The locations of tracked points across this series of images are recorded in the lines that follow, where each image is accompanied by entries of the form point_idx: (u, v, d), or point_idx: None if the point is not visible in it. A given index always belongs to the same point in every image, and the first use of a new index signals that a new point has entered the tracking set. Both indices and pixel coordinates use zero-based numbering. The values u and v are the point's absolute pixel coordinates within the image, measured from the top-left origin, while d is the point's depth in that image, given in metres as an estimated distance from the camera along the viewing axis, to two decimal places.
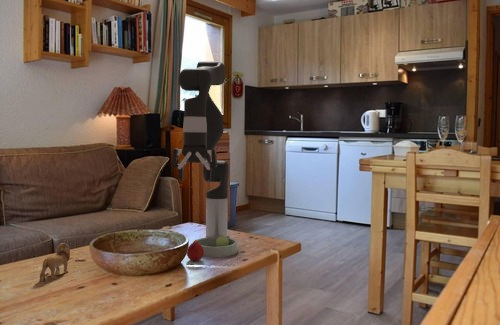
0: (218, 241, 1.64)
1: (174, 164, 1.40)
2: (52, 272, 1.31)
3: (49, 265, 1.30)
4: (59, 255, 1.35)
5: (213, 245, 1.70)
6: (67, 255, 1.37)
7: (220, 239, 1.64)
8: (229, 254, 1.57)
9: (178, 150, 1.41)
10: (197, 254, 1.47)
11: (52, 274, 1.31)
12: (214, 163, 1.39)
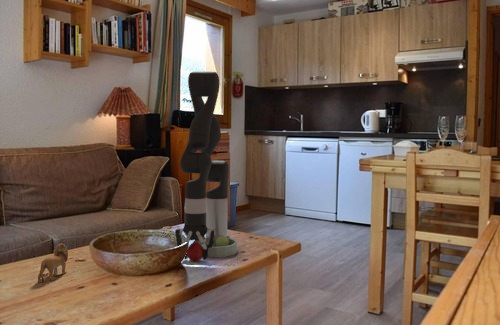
0: (218, 241, 1.64)
1: (178, 244, 1.49)
2: (50, 273, 1.30)
3: (47, 266, 1.29)
4: (57, 256, 1.34)
5: (213, 245, 1.70)
6: (65, 256, 1.36)
7: (220, 239, 1.64)
8: (229, 254, 1.57)
9: (179, 230, 1.50)
10: (197, 254, 1.47)
11: (50, 275, 1.30)
12: (211, 243, 1.48)
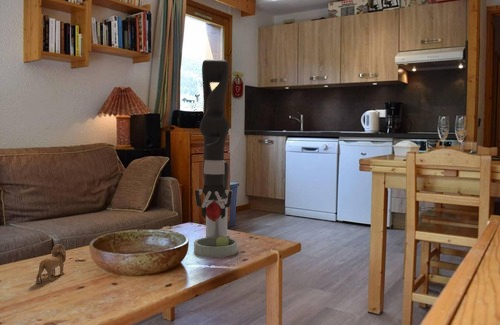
0: (218, 241, 1.64)
1: (198, 203, 1.59)
2: (49, 274, 1.29)
3: (46, 267, 1.28)
4: (55, 256, 1.33)
5: (213, 245, 1.70)
6: (63, 256, 1.36)
7: (220, 239, 1.64)
8: (229, 254, 1.57)
9: (199, 190, 1.59)
10: (216, 212, 1.57)
11: (49, 276, 1.29)
12: (229, 203, 1.57)
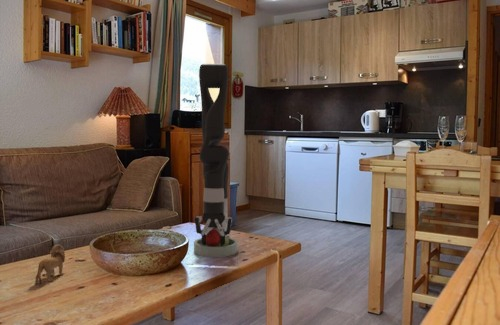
0: None
1: (198, 231, 1.59)
2: (48, 274, 1.29)
3: (45, 267, 1.28)
4: (54, 257, 1.33)
5: None
6: (62, 257, 1.35)
7: None
8: (229, 254, 1.57)
9: (199, 218, 1.60)
10: (215, 240, 1.57)
11: (48, 276, 1.28)
12: (228, 230, 1.58)
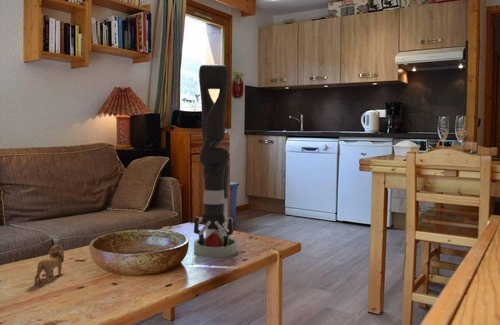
0: None
1: (195, 231, 1.59)
2: (47, 275, 1.28)
3: (44, 268, 1.27)
4: (53, 257, 1.32)
5: None
6: (61, 257, 1.35)
7: None
8: (229, 254, 1.57)
9: (199, 218, 1.60)
10: (215, 244, 1.57)
11: (47, 277, 1.28)
12: (231, 230, 1.58)
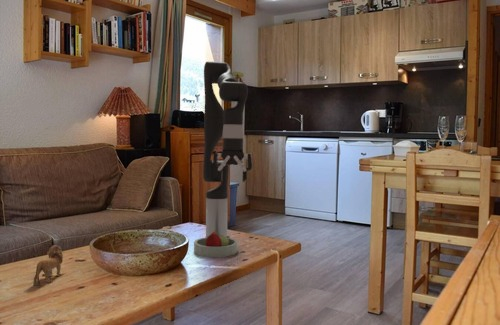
0: None
1: (214, 166, 1.59)
2: (46, 275, 1.28)
3: (43, 268, 1.27)
4: (52, 258, 1.32)
5: None
6: (60, 258, 1.34)
7: None
8: (229, 254, 1.57)
9: (218, 154, 1.59)
10: (215, 244, 1.58)
11: (46, 277, 1.28)
12: (250, 165, 1.57)
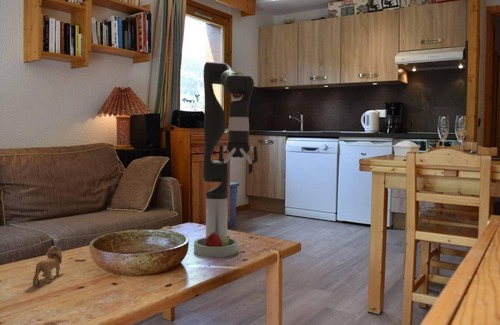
0: None
1: (220, 159, 1.59)
2: (46, 276, 1.27)
3: (43, 269, 1.26)
4: (52, 258, 1.31)
5: None
6: (59, 258, 1.34)
7: None
8: (229, 254, 1.57)
9: (224, 146, 1.60)
10: (216, 244, 1.58)
11: (46, 278, 1.27)
12: (256, 158, 1.58)
